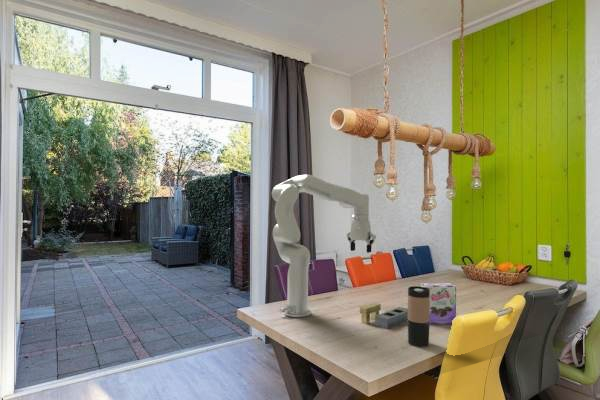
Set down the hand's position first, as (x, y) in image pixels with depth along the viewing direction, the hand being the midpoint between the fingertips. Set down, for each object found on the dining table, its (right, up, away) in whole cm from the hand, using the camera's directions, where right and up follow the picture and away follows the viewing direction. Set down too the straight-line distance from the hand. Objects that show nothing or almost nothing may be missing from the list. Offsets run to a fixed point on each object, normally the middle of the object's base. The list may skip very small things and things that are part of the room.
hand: (360, 251), depth 186 cm
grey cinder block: (+9, -26, -29) cm, 41 cm away
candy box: (+29, -27, -29) cm, 49 cm away
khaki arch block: (0, -26, -28) cm, 38 cm away
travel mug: (+12, -26, -53) cm, 61 cm away
